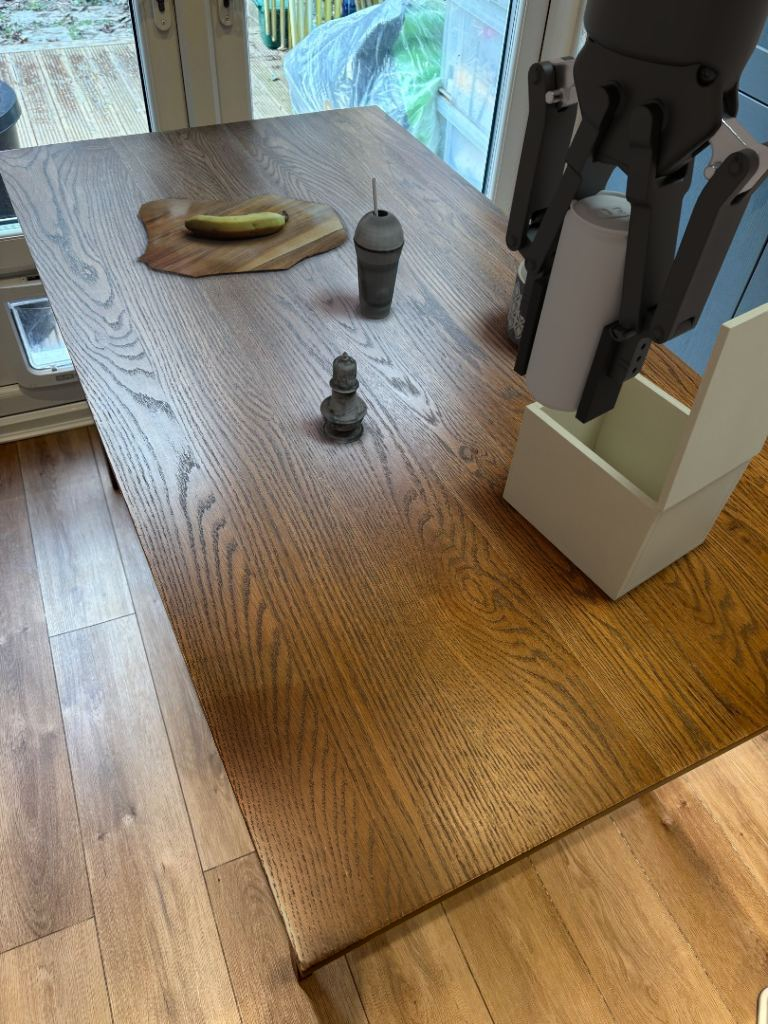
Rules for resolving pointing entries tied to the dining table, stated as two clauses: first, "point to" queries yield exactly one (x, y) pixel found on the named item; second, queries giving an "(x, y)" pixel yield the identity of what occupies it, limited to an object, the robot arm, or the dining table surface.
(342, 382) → the chess piece
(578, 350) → the beverage can
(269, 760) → the dining table surface
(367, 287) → the beverage cup
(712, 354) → the box lid
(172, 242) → the cutting board
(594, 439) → the cream box
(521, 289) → the planter
